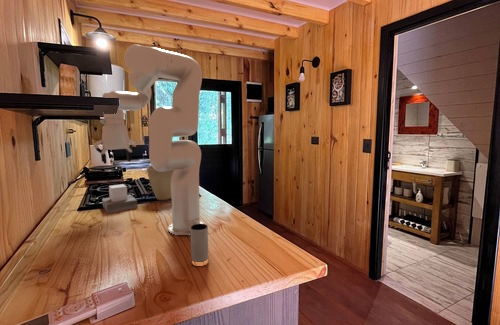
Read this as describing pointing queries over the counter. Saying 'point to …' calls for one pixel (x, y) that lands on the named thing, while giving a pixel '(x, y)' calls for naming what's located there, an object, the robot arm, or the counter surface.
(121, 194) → the white cube
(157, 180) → the plant pot
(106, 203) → the charcoal block
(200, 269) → the counter surface
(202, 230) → the grey cylinder
